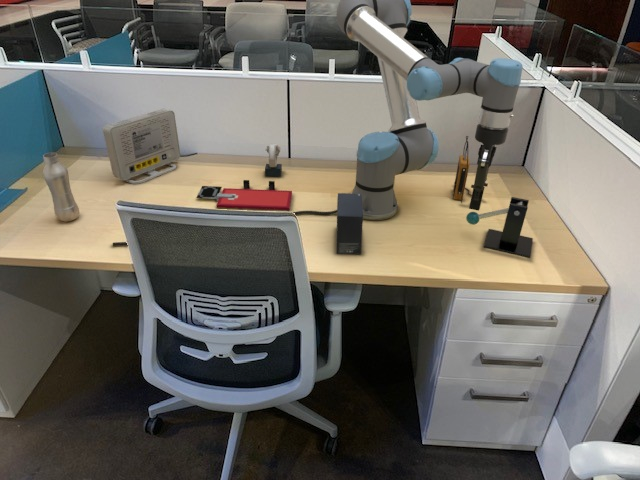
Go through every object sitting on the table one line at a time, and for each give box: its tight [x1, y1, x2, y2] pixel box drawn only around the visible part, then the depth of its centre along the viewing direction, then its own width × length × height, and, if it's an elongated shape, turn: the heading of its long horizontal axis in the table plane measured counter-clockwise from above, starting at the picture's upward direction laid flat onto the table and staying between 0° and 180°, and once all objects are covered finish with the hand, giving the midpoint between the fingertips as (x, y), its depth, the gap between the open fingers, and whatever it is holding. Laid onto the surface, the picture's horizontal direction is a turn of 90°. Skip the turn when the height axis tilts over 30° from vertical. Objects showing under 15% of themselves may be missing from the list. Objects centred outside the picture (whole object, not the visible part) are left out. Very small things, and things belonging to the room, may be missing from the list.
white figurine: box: [264, 143, 283, 178], centre depth 168 cm, size 6×8×11 cm
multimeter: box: [452, 135, 485, 204], centre depth 153 cm, size 15×10×20 cm
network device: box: [102, 108, 181, 185], centre depth 164 cm, size 26×9×20 cm, turn 144°
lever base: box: [483, 196, 534, 259], centre depth 129 cm, size 12×10×14 cm
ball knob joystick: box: [465, 202, 524, 225], centre depth 130 cm, size 15×4×4 cm, turn 66°
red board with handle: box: [196, 179, 293, 211], centre depth 154 cm, size 30×3×15 cm
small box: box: [336, 192, 364, 255], centre depth 130 cm, size 13×7×12 cm, turn 178°
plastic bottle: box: [42, 152, 80, 222], centre depth 136 cm, size 6×7×20 cm
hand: (474, 208), depth 132 cm, fingers closed
